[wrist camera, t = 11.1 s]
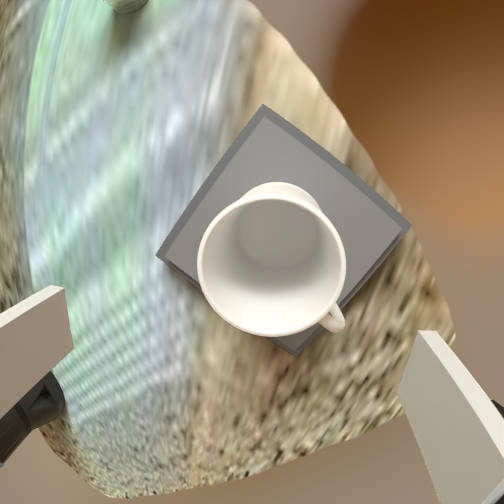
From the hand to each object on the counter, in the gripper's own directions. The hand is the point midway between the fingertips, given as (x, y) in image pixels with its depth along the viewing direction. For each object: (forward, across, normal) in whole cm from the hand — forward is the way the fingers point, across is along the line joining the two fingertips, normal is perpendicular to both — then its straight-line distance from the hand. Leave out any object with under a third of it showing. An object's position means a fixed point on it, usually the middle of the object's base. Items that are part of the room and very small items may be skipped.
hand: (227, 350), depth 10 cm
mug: (+19, +2, 0) cm, 19 cm away
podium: (+23, +2, 0) cm, 23 cm away
